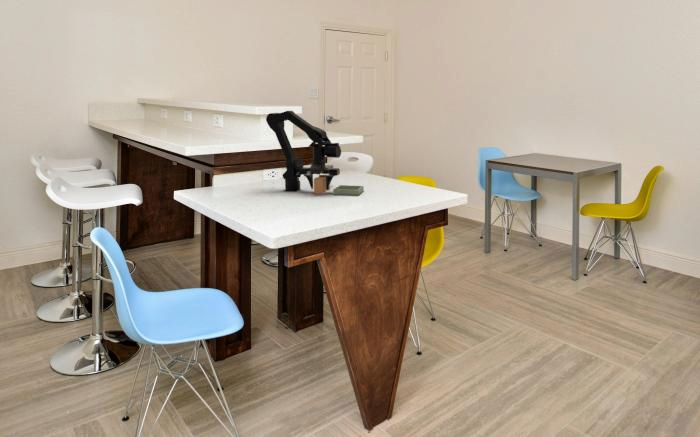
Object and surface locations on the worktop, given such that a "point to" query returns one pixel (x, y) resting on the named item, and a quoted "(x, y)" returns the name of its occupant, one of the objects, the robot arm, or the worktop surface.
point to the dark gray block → (328, 168)
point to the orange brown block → (320, 185)
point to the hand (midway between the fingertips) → (319, 189)
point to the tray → (348, 190)
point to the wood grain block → (326, 180)
